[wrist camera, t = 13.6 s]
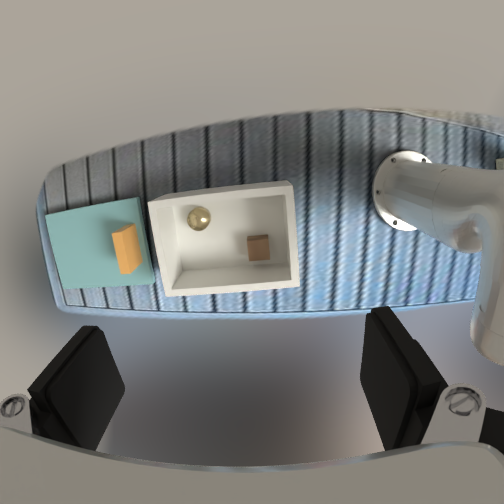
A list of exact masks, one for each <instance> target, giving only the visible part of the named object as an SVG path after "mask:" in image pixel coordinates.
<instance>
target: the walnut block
mask: <svg viewBox="0 0 504 504" xmlns="http://www.w3.org/2000/svg"><path fill="white" fill-rule="evenodd" d="M247 248H248V257H249V261H259V260H270V251H269V240H268V234H267V235H256V236H247Z"/></svg>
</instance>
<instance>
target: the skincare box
mask: <svg viewBox="0 0 504 504" xmlns="http://www.w3.org/2000/svg"><path fill="white" fill-rule="evenodd" d="M496 169H497V170H504V158H500V159H496Z"/></svg>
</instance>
